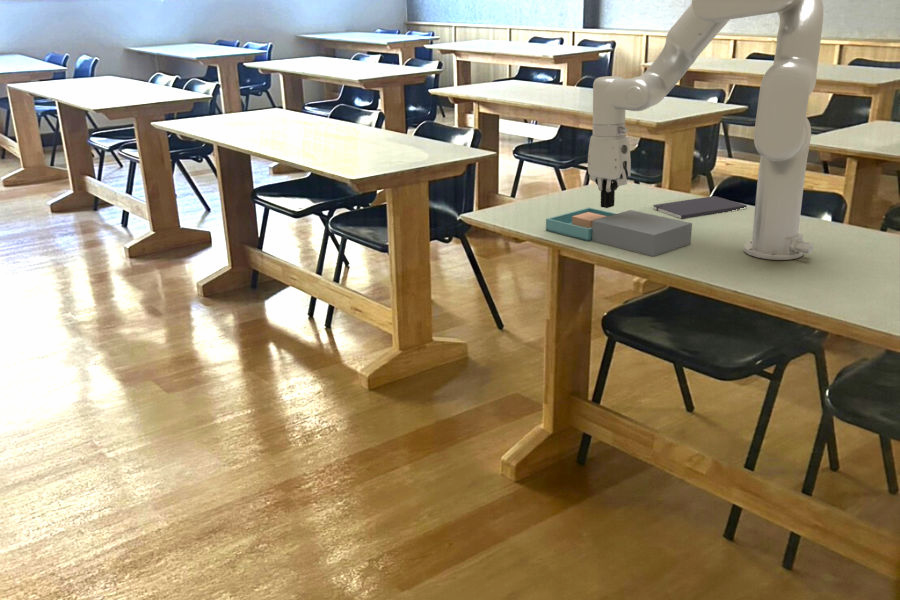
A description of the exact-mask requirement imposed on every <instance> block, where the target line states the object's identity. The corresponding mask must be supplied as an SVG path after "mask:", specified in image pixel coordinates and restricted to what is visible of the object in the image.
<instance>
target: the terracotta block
mask: <svg viewBox="0 0 900 600" xmlns="http://www.w3.org/2000/svg"><path fill="white" fill-rule="evenodd" d="M604 217H607V216H604V215H599V214H595V213H591V212H587V213H583V214H579V215H575V216H572V225H577V226H581V227H585V228H591V227H592V223H593V220H597V219H600V218H604Z"/></svg>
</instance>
